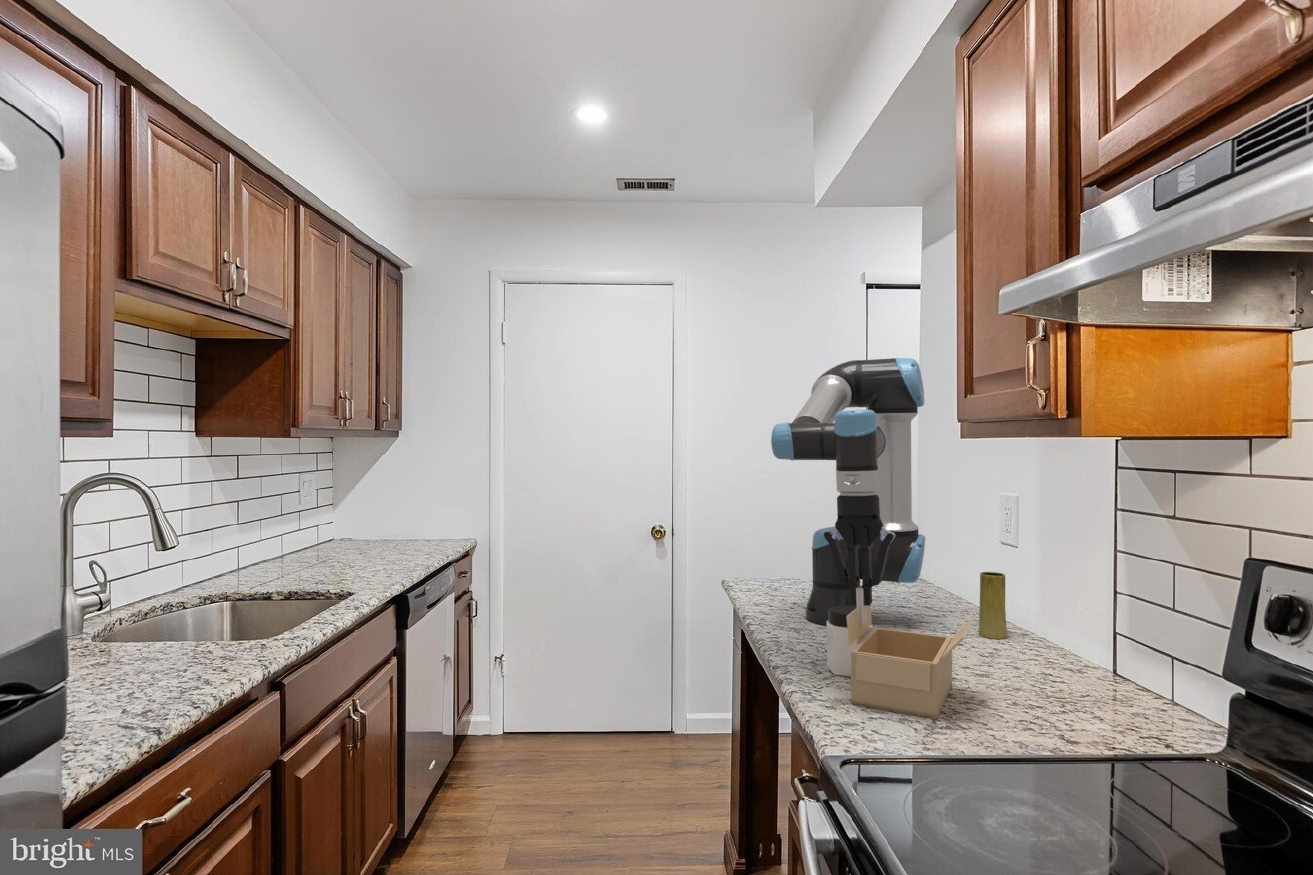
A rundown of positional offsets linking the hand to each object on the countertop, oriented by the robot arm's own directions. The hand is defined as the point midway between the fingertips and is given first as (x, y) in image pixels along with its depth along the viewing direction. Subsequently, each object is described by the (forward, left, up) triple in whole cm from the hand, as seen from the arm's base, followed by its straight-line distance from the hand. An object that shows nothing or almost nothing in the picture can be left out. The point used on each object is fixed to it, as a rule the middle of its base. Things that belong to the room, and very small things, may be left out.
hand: (862, 622), depth 134 cm
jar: (-9, -4, -12) cm, 16 cm away
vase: (-49, +18, -12) cm, 54 cm away
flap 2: (0, +16, 0) cm, 16 cm away
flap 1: (0, 0, 0) cm, 0 cm away
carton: (0, +7, -12) cm, 14 cm away
